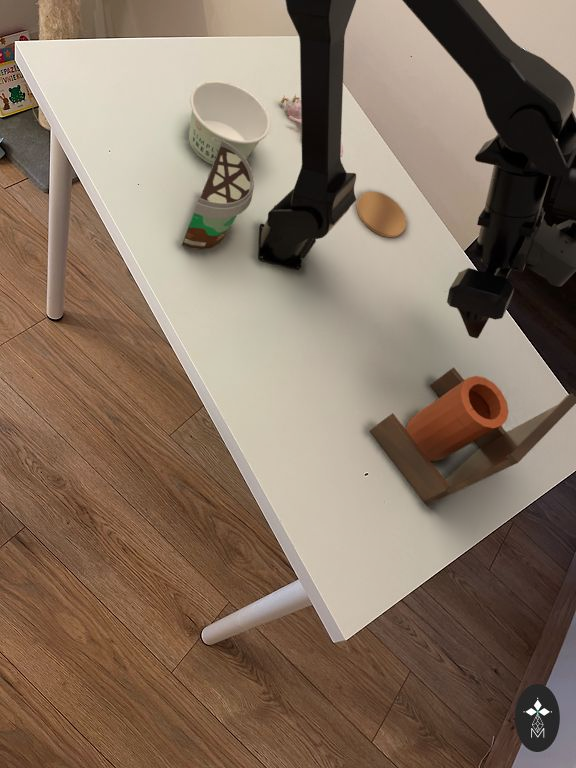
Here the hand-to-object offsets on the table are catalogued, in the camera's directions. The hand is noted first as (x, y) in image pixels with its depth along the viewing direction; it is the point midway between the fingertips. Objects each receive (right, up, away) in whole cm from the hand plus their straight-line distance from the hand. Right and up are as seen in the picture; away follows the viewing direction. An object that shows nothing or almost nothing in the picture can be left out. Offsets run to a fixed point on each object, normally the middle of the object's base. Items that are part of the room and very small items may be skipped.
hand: (485, 314), depth 76 cm
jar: (-6, -16, +6) cm, 18 cm away
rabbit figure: (-22, +33, +24) cm, 46 cm away
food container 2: (-36, +12, +7) cm, 38 cm away
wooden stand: (-6, -16, +6) cm, 18 cm away
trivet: (-10, +19, +23) cm, 31 cm away
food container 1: (-36, +27, +15) cm, 47 cm away
